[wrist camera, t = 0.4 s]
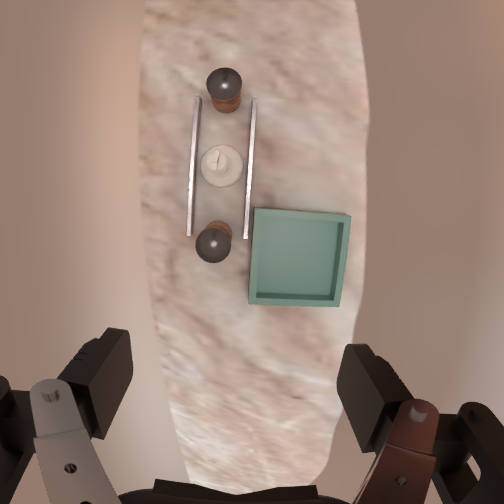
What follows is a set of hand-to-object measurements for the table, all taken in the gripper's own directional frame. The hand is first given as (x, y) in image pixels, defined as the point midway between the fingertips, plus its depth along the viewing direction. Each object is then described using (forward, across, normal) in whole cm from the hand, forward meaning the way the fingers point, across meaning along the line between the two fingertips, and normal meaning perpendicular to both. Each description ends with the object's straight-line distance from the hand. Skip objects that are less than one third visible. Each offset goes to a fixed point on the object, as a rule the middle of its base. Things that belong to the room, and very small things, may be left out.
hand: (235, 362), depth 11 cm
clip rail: (+27, +3, -7) cm, 28 cm away
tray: (+27, -7, +2) cm, 28 cm away
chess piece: (+27, +2, -7) cm, 28 cm away
